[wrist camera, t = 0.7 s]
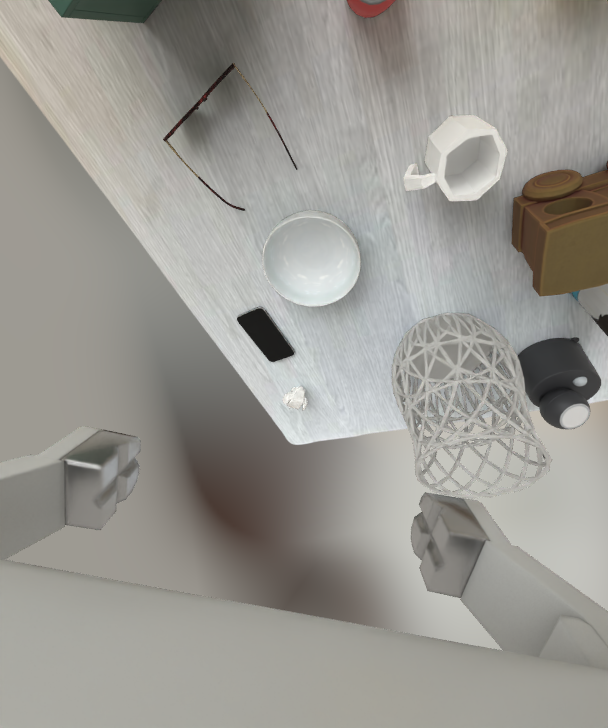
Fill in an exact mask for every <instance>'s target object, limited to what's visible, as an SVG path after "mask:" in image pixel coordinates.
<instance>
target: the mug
mask: <svg viewBox="0 0 608 728" xmlns="http://www.w3.org/2000/svg"><path fill="white" fill-rule="evenodd" d="M507 151H508V150H507V148H506V146H505V145H504V143H503V141H502V139H501V137H500V135H499V133H498V132H497V130H496V128H494V127H493V126H491V125H489V124H488V123H486V122H485V121H483V120H481V119H480V118H478V117H477V116H475V115H458V116H450V117H449V118H447V119H446V120H445V121H444V122H443V123H442V124H441V125H440V126H439V127H438V128H437V129H436V130H435V131H434V132H433V133H432V134H431V135H430V136H429V137H428V142H427V148H426V155H425V161H424V162H425V164H426V165H427V167H428V169H429V170H430V172H431V173H430V174H426V175H419V171H418V167H417V164H416V163H414V164H411V165H409V167H408V169H407V171H406V174H405V176H404V178H403V180H404V186H405V189H406V191H411V190H419V189H424V188H426V187H428V186H430V185H432V184H433V183H435V182H437V184H438V185H439V187H440V188H441V189H442V191H443V192H444V194H445V195H446V197H447V198H448V199H449V201H473V200H478V199H479V198H480V197H481V196H482V195H483V194H484V193H485V192H486V191H488V190H489V189H490V188H491V187H492V186H493V185H494V184H495V183H496V182H497V181H498V180H499V179H500V177H501V174H502V170H503V166H504V162H505V158H506V155H507Z"/></svg>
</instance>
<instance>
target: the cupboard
mask: <svg viewBox="0 0 608 728" xmlns="http://www.w3.org/2000/svg"><path fill="white" fill-rule="evenodd" d="M161 1H162V0H49V2H50V3H51V4H52V6H53V7H54V8H55V9H56V11H57V12H58V13H59V15H60V16H61V17H65V18H79V19H93V20H107V21H120V22H134V23H144V22H145V20H146V19H147V18H148V17H149V16H150V14H151V13H152V12H153V11H154V9H155V8H156V7H157V6H158V4H159V3H160V2H161Z"/></svg>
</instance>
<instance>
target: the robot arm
mask: <svg viewBox="0 0 608 728" xmlns="http://www.w3.org/2000/svg"><path fill="white" fill-rule="evenodd" d="M139 452H140V439H139V438H138V437H136V436H131V435H126V434H122V433H117V432H112V431H107V430H102V429H98V428H93V427H87V426H85V427H80V428H78V429H77V430H75V431H74V432H72V433H71V434H69V435H68V436H66V437H64V438H63V439H62V440H60V441H59V442H57V443H56V444H54V445H52V446H51V447H50V448H48V449H46V450H45V451H43V452H42V453H40V454H39V455H37V456H35V455H27V456H24V457H20V458H16V459H12V460H8V461H4V462H0V728H608V611H607V610H605V609H604V608H603V607H601V606H600V605H598V604H597V603H595V602H594V601H593V600H591V599H590V598H589V597H587V596H586V595H584V594H583V593H582V592H580V591H579V590H578V589H576V588H575V587H573V586H572V585H571V584H569V583H568V582H566V581H565V580H564V579H562V578H561V577H559V576H558V575H556V574H555V573H554V572H553V571H551V570H550V569H548V568H547V567H545V566H544V565H543V564H541V563H540V562H539V561H537V560H536V559H534V558H533V557H532V556H530V555H529V554H527V553H526V552H524V551H523V550H522V549H520V548H519V547H518V546H513V545H511V543H510V542H509V541H508V539H507V538H506V536H505V535H504V534H503V532H502V531H501V529H500V528H499V526H498V525H497V524H496V522H495V521H494V519H493V518H492V517H491V515H490V514H489V512H488V511H487V510H486V508H485V507H484V505H483V504H482V503H480V502H479V501H477V500H470V499H464V498H456V497H449V496H444V495H438V494H432V493H426V492H425V493H424V494H423V496H422V497H421V500H420V503H419V505H420V508H421V510H422V512H421V513H419V514H418V515H417V516H415V517H414V520H413V524H412V527H411V542H412V547H413V550H414V553H415V554H416V555H417V556H418V557H419V558H420V559H421V560H422V562H421V565H420V571H421V574H422V577H423V579H424V582H425V585H426V588H427V591H430V592H435V593H440V594H444V595H449V596H453V597H458V598H461V599H460V600H461V601H462V602H463V603H464V605H465V606H466V607H467V608H468V609H469V611H470V612H471V613H472V614H473V615H474V616H475V618H476V619H477V620H478V621H479V622H480V624H482V626H483V627H484V628H485V629H486V631H487V632H488V633H489V634H490V635H491V636H492V638H493V639H494V640H495V641H496V642H497V644H499V646H500V647H501V648H502V650H503V651H502V650H497V649H491V648H485V647H480V646H473V645H468V644H463V643H458V642H452V641H447V640H441V639H436V638H430V637H425V636H419V635H414V634H408V633H403V632H398V631H392V630H387V629H381V628H376V627H371V626H365V625H360V624H355V623H349V622H344V621H338V620H333V619H327V618H322V617H317V616H311V615H305V614H300V613H294V612H289V611H283V610H278V609H272V608H267V607H261V606H256V605H250V604H245V603H239V602H234V601H228V600H223V599H217V598H212V597H206V596H201V595H195V594H190V593H184V592H178V591H173V590H167V589H162V588H156V587H151V586H145V585H140V584H134V583H128V582H123V581H118V580H113V579H107V578H102V577H96V576H90V575H85V574H80V573H74V572H69V571H63V570H57V569H52V568H47V567H42V566H36V565H30V564H25V563H20V562H14V561H9V560H5V559H6V558H8V557H10V556H12V555H14V554H16V553H18V552H19V551H21V550H23V549H25V548H27V547H28V546H30V545H32V544H34V543H36V542H38V541H40V540H42V539H43V538H45V537H47V536H49V535H51V534H53V533H54V532H56V531H58V530H60V529H62V528H63V527H65V525H69V526H76V527H83V528H89V529H95V530H101V528H102V527H103V526H104V525H105V524H106V523H107V521H108V520H109V519H110V518H111V517H112V516H113V514H114V513H115V512H116V504H117V503H119V502H121V501H123V500H126V499H127V497H128V496H129V495H130V494H131V492H132V491H133V488H134V486H135V484H136V482H137V479H138V475H139V464H138V462H137V460H136V459H135V456H136V455H137V454H138V453H139Z"/></svg>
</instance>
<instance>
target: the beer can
mask: <svg viewBox="0 0 608 728" xmlns="http://www.w3.org/2000/svg"><path fill="white" fill-rule="evenodd" d="M394 1H395V0H347V2H348V4H349V6H350V8H351V9H352V10H353V11H354V12H355V13H356V14H357V15H359V16H362V17H364V18H369V17H375V16H377V15H379V14H381V13H382V12H384V11H385V10H386V9H387V8H389V6H390V5H391V4H392V3H393V2H394Z"/></svg>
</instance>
